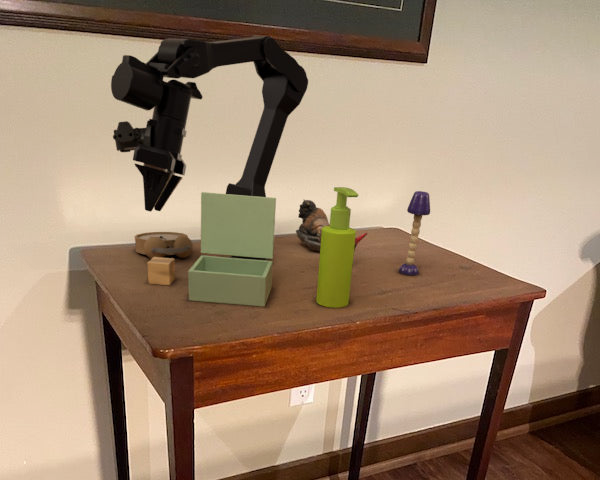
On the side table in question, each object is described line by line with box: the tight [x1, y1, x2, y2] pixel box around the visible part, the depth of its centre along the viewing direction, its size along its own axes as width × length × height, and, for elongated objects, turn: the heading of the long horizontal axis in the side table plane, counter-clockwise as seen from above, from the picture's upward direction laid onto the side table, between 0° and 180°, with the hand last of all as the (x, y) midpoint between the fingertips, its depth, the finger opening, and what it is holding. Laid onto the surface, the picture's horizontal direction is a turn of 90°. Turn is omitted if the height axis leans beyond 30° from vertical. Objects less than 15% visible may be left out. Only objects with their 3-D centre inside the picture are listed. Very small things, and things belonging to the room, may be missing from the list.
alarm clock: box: [134, 231, 193, 260], centre depth 132 cm, size 11×5×15 cm
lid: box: [200, 191, 277, 260], centre depth 112 cm, size 11×13×1 cm
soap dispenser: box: [315, 186, 359, 309], centre depth 107 cm, size 6×7×20 cm
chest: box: [187, 254, 274, 308], centre depth 111 cm, size 10×13×5 cm
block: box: [147, 257, 176, 286], centre depth 115 cm, size 4×4×4 cm
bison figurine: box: [295, 199, 330, 252], centre depth 143 cm, size 12×7×10 cm, turn 27°
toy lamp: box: [398, 190, 431, 276], centre depth 128 cm, size 5×5×17 cm
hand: (152, 210), depth 110 cm, fingers open, 9 cm apart
